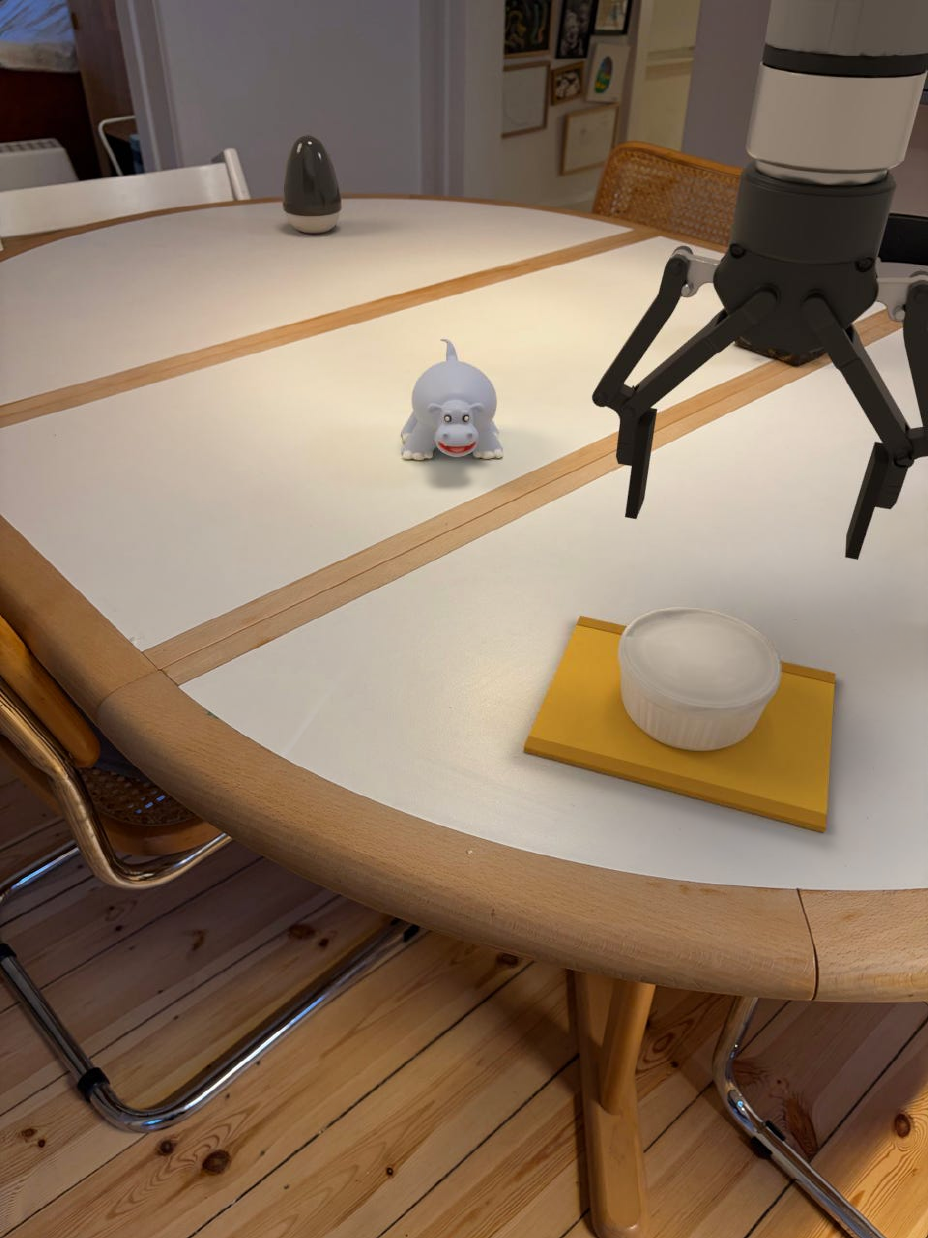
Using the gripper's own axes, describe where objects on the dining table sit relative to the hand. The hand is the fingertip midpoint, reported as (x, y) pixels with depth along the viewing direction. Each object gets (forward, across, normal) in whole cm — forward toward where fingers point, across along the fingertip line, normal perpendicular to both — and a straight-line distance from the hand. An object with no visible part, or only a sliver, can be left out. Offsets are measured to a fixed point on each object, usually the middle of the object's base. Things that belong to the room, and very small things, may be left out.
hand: (739, 527), depth 60 cm
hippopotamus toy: (+15, +31, -30) cm, 46 cm away
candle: (+16, 0, -75) cm, 77 cm away
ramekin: (+15, +1, +2) cm, 15 cm away
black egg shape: (+15, +82, -101) cm, 131 cm away
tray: (+15, +1, +2) cm, 15 cm away
